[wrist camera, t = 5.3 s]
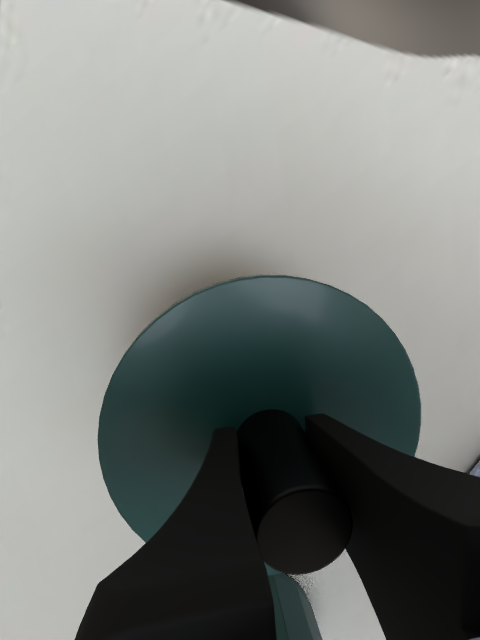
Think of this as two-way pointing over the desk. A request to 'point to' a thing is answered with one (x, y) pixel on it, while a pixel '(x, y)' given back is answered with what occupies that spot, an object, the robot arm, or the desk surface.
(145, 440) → the pot lid
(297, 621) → the pot
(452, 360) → the desk surface
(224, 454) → the robot arm
